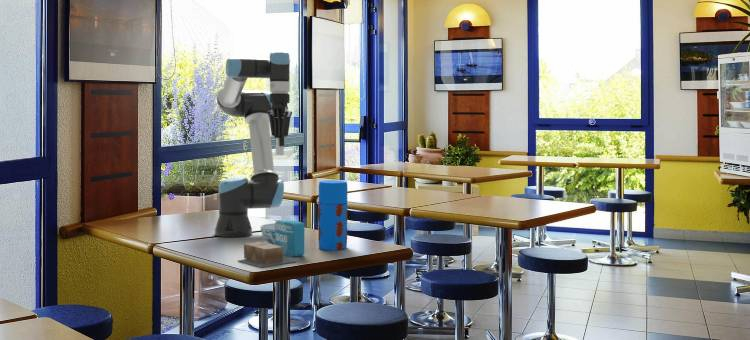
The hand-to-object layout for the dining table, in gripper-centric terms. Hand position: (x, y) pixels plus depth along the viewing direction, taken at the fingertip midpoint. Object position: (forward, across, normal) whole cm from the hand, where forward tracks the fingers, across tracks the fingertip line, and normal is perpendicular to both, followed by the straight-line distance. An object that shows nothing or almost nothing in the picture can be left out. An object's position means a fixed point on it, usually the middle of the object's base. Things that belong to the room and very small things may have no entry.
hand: (279, 154), depth 293 cm
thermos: (+35, +20, +10) cm, 41 cm away
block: (+32, +18, -24) cm, 43 cm away
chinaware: (+35, +4, -3) cm, 35 cm away
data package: (+35, +20, -10) cm, 41 cm away
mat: (+34, +26, -24) cm, 49 cm away
